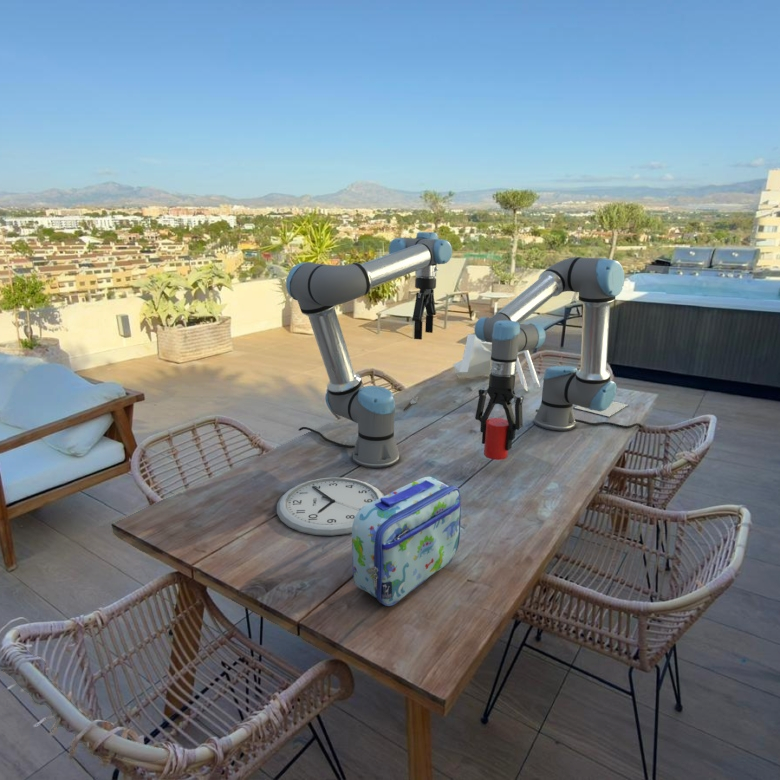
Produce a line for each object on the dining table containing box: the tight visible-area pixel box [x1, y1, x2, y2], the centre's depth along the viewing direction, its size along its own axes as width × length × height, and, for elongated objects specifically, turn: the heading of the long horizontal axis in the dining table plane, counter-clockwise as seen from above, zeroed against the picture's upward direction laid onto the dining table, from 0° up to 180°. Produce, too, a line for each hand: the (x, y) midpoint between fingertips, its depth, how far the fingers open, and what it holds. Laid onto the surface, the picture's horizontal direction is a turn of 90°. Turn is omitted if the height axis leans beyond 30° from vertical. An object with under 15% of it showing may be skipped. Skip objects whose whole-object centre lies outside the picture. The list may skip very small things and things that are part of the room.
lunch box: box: [351, 476, 462, 607], centre depth 111 cm, size 26×11×21 cm, turn 135°
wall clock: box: [276, 476, 385, 537], centre depth 142 cm, size 30×2×30 cm
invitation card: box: [573, 400, 629, 418], centre depth 226 cm, size 21×1×15 cm
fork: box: [403, 395, 419, 411], centre depth 222 cm, size 3×16×2 cm, turn 160°
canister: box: [483, 417, 509, 461], centre depth 160 cm, size 7×7×11 cm
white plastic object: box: [452, 333, 541, 392], centre depth 256 cm, size 37×45×31 cm
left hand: (423, 335), depth 193 cm, fingers open, 13 cm apart
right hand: (496, 445), depth 161 cm, fingers closed on canister, 7 cm apart
